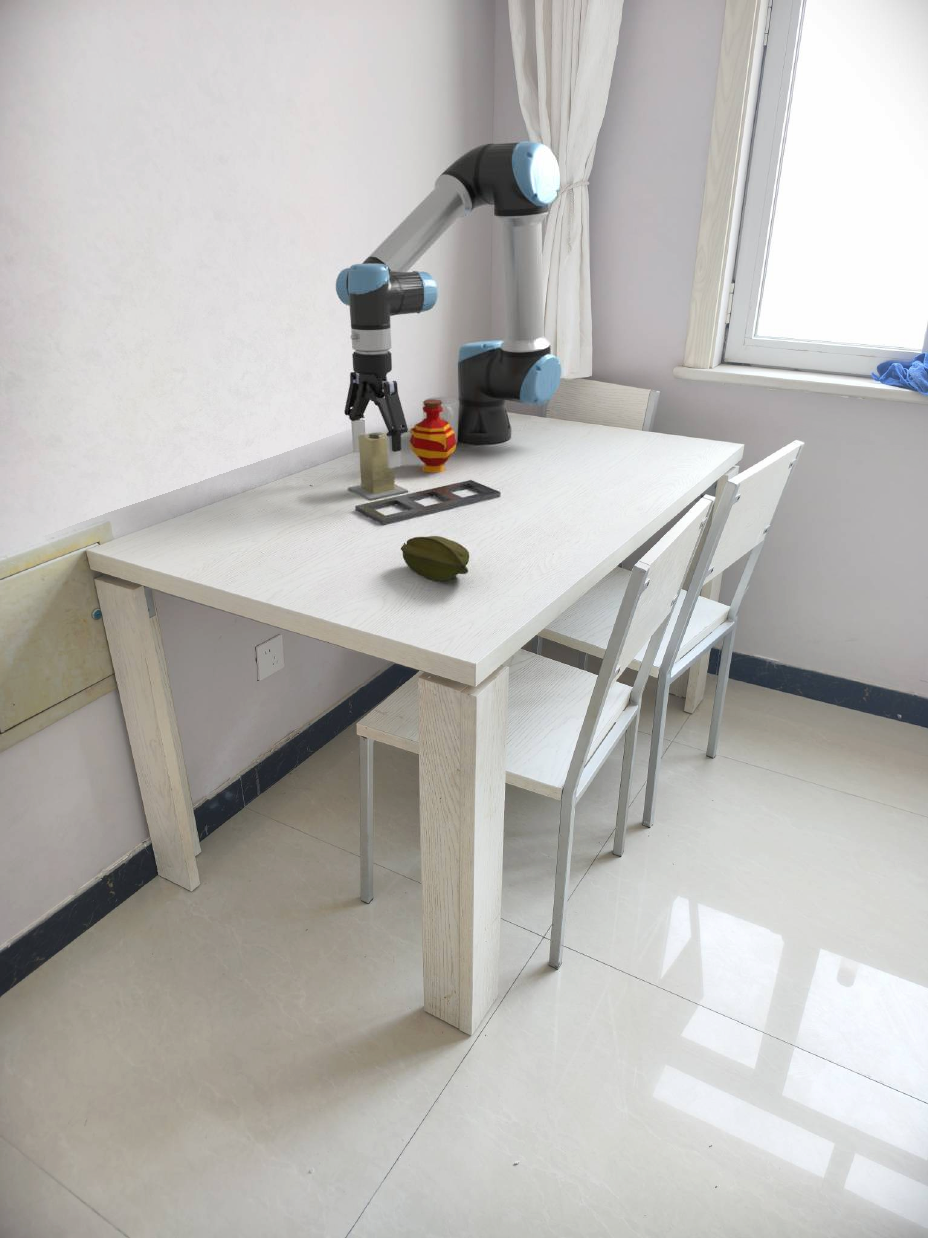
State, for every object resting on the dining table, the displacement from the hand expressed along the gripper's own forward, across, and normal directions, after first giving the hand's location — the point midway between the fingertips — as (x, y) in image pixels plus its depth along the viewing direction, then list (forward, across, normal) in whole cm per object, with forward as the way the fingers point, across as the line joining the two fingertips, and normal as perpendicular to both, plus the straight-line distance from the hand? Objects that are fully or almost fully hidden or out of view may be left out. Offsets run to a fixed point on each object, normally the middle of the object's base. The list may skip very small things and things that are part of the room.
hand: (376, 458), depth 173 cm
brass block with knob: (+6, 0, 0) cm, 6 cm away
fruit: (+7, +43, -16) cm, 46 cm away
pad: (+7, 0, 0) cm, 7 cm away
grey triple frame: (+7, +13, +4) cm, 15 cm away
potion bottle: (+7, -6, +18) cm, 20 cm away
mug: (+7, -22, +32) cm, 39 cm away
